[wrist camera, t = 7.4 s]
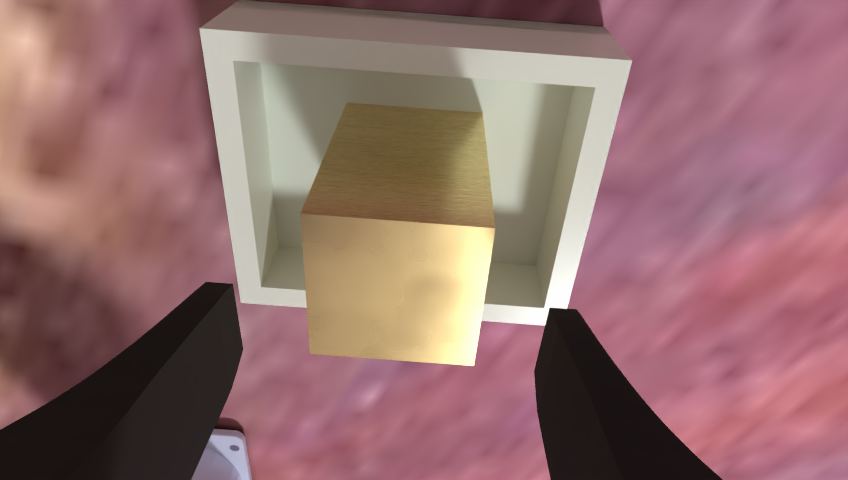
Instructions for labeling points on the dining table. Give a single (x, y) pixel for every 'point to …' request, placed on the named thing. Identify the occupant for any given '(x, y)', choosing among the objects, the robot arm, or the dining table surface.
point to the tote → (420, 88)
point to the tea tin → (399, 236)
